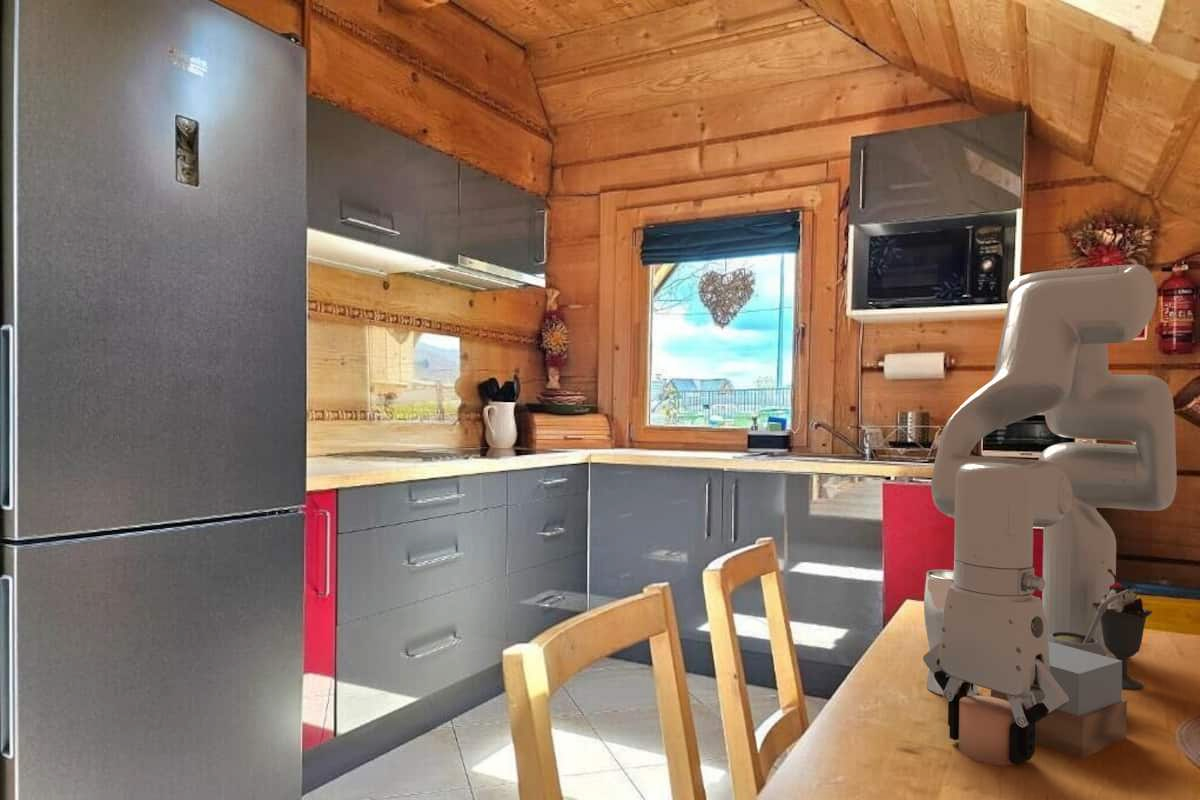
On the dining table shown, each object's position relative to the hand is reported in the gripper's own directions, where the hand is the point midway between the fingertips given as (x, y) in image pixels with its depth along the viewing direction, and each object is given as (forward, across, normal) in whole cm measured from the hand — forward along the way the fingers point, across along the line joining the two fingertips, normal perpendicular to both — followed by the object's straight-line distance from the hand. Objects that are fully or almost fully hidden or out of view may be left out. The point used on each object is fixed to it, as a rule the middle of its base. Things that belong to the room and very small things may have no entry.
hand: (989, 746), depth 84 cm
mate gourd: (+1, +2, -24) cm, 24 cm away
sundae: (+1, +3, -36) cm, 36 cm away
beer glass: (+1, +13, -14) cm, 19 cm away
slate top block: (-4, -1, -12) cm, 12 cm away
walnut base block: (+1, -1, -12) cm, 12 cm away
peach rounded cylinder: (+1, 0, 0) cm, 1 cm away
